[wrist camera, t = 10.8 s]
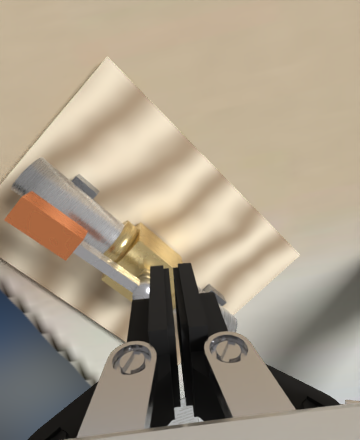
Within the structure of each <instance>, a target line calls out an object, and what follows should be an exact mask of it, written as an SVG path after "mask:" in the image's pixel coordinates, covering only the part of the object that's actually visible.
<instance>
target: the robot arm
mask: <svg viewBox="0 0 360 440" xmlns="http://www.w3.org/2000/svg"><path fill="white" fill-rule="evenodd" d="M173 276H174V290H175V304H176V317H177V330H178V339H179V348H180V356H181V365H182V374H183V383H184V391H185V400H186V406H193V413H194V417H199V418H200V419H202V420H203V421H202V422H194V423H186V424H179V425H171V426H168V425H169V424H170V422H171V421H172V420H175V411H174V408H175V407H181V402H180V389H179V375H178V362H177V349H176V336H175V325H174V315H173V305H172V295H171V285H170V275H169V268H164V267H163V265H159V266H150V287H149V298H146V299H136V300H132V305H131V313H130V321H129V328H128V336H127V343H124V344H122V345H120V346H118V347H117V348H115V349H114V350H113V351H112V352H111V354H110V355H109V357H108V359H107V361H106V364H105V366H104V369H103V371H102V374H101V376H100V379H99V381H98V382H97V383H96V384H94V385H93V386H92V387H91V388H89V389H88V390H87V391H86V392H84V393H83V394H82V395H81V396H79V397H78V398H77V399H76V400H74V401H73V402H72V403H71V404H69V405H68V406H67V407H66V408H64V409H63V410H62V411H61V412H59V413H58V414H57V415H55V416H54V417H53V418H52V419H51V420H49V421H48V422H47V423H46V424H44V425H43V426H42V427H40V429H38V430H37V431H36V432H35V433H34V434H33V435H32V436H31V437H30V438H29V439H28V440H360V401H353V400H345V404H339V403H338V402H337V401H336V400H335V399H333V398H332V397H330V396H329V395H327V394H325V393H323V392H321V391H319V390H317V389H315V388H313V387H311V386H309V385H307V384H305V383H303V382H301V381H299V380H297V379H295V378H293V377H291V376H289V375H287V374H285V373H283V372H281V371H279V370H277V369H275V368H273V367H271V366H269V365H267V364H265V363H264V361H263V360H262V358H261V357H260V355H259V354H258V352H257V351H256V350H255V348H254V347H253V345H252V344H251V342H250V341H249V340H248V339H247V338H246V337H244V336H242V335H241V334H238V333H235V332H228V329H227V326H226V324H225V321H224V318H223V315H222V313H221V310H220V307H219V304H218V302H217V299H216V296H215V294H214V292H207V293H199V291H198V287H197V283H196V280H195V276H194V272H193V269H192V265H191V263H181V264H178V267H175V268H173Z"/></svg>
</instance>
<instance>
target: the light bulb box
mask: <svg viewBox="0 0 360 440" xmlns="http://www.w3.org/2000/svg"><path fill="white" fill-rule="evenodd" d="M180 402H181V407H175V408H174V411H175V420H172V421H171V422H170V424H169V425H168V426H171V425H179V424H186V423H194V422H202V421H203V420H202V419H200V418H199V417H194V413H193V406H186V400H185V398H184V399H181V400H180Z"/></svg>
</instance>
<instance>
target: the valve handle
mask: <svg viewBox="0 0 360 440" xmlns="http://www.w3.org/2000/svg"><path fill="white" fill-rule="evenodd" d="M4 220H5V221H6V222H8V223H9V224H11V225H12V226H14V227H15V228H17V229H18V230H20V231H21V232H23V233H24V234H26V235H27V236H29V237H30V238H32V239H33V240H35V241H36V242H38V243H39V244H41V245H42V246H44V247H45V248H47V249H48V250H50V251H51V252H53V253H55V254H56V255H58V256H59V257H61V258H62V259H64V260H65V261H66V260H67V259H68V258H69V256H70V255H71V254H72V253H74V254H76V255H77V256H79V257H80V258H82V259H83V260H85V261H86V262H88V263H89V264H91V265H92V266H94V267H95V268H97V269H98V270H100V271H101V272H103V273H104V274H105V275H107V276H108V277H110V278H111V279H113V280H114V281H116V282H117V283H119V284H120V285H122V286H123V287H125V288H126V289H128V290H129V291H131V292H132V293H133V295H132V299H133V300H136V299H146V298H149V287H150V278H149V277H142V278H139V279H138V278H137V277H135V276H134V275H132V274H131V273H130V272H128V271H127V270H125V269H124V268H122V267H121V266H120V265H118V264H117V263H115V262H114V261H112V260H111V259H110V258H108V257H107V256H105V255H104V254H102V253H101V252H100V251H98V250H97V249H95V248H94V247H92V246H91V245H90V244H88V243H87V242H85V241H84V238H85V236H86V234H87V232H88V231H87V230H86V229H85V228H83V227H82V226H80V225H79V224H78V223H76V222H75V221H73V220H72V219H71V218H69V217H68V216H66V215H65V214H64V213H62V212H61V211H59V210H58V209H57V208H55V207H54V206H52V205H51V204H50V203H48V202H47V201H45V200H44V199H43V198H41V197H40V196H38V195H37V194H36V193H34V192H33V191H31V192H29V193H27V194H25V195H24V196H22V197H21V198H20V200H19V201H18V202H17V203H16V205H15V206H14V207H13V209H12V210H11V211H10V213H9V214H8V215H7V216H6V218H5V219H4Z"/></svg>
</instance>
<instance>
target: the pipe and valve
mask: <svg viewBox="0 0 360 440" xmlns="http://www.w3.org/2000/svg"><path fill="white" fill-rule="evenodd" d="M11 189H12V190H13V191H14V192H15V193H17V194H18V195H19V196H21V197H22V196H24V195H25V194H27V193H29V192H31V191H33V192H34V193H36V194H37V195H38V196H40V197H41V198H43V199H44V200H45V201H47V202H48V203H50V204H51V205H52V206H54V207H55V208H57V209H58V210H59V211H61V212H62V213H64V214H65V215H66V216H68V217H69V218H71V219H72V220H73V221H75V222H76V223H78V224H79V225H80V226H82V227H83V228H85V229H86V230H87V231H88V232H87V234H86V236H85V238H84V241H85V242H87V243H88V244H90V245H91V246H92V247H94V248H95V249H97V250H98V251H100V252H101V253H102V254H104V255H105V256H107V257H108V258H110V259H111V260H112V261H114V262H115V263H117V264H118V265H120V266H121V267H122V268H124V269H125V270H127V271H128V272H130V273H131V274H132V275H134V276H135V277H137V278H138V279H139V278H142V277H149V278H150V266H159V265H163V267H164V268H169V275H170V285H171V295H172V305H173V313H174V314H176V304H175V290H174V276H173V268H175V267H178V264H181V263H183V262H182V258H181V256H180V255H179V254H178V253H177V252H175V251H174V250H173V249H172V248H171V247H169V246H168V245H167V244H166V243H165V242H164V241H162V240H161V239H160V238H159V237H158V236H157V235H155V234H154V233H153V232H152V231H151V230H149V229H148V228H147V227H146V226H145V225H144V224H142V223H141V222H140V223H139V224H138V225H137V226H134V225H133V224H132V223H131V222H130V221H128V220H127V221H125V222H123V223H121V222H120V221H119V220H118V219H116V218H115V217H114V216H113V215H111V214H110V213H109V212H108V211H107V210H105V209H104V208H103V207H102V206H101V205H99V204H98V203H97V202H96V201H95V200H93V199H94V198H95V196H96V195H97V194H98V193H99V192H100V191H99V190H98V189H97V188H95V187H94V186H93V185H92V184H91V183H90V182H88V181H87V180H86V179H85V178H84V177H82V176H81V175H80V174H78V175H77V176H75V178H74V179H73V180H72V181H70V180H69V179H68V178H67V177H66V176H64V175H63V174H62V173H61V172H60V171H58V170H57V169H56V168H55V167H54V166H52V165H51V164H50V163H49V162H47V161H46V160H45V159H44V158H43V157H41V158H39V159H37V160H36V161H34V162H33V163H32V164H31V165H29V166H28V167H27V168H26V169H25V170H24V171H23V172H22V173H21V174H20V176H19V177H18V178H17V179H16V180H15V182H14V183H13V185H12V187H11ZM101 280H102V281H104V282H105V283H106V284H108V285H109V286H110V287H112V288H113V289H114V290H116V291H117V292H119V293H120V294H121V295H123V296H124V297H125V298H127V299H128V300H129V301H131V302H132V300H133V299H132V295H133V293H132V292H131V291H129V290H128V289H126V288H125V287H123V286H122V285H120V284H119V283H117V282H116V281H114V280H113V279H111V278H110V277H108V276H107V275H105V274H104V273H103V275H102V279H101ZM197 287H198V286H197ZM198 291H199V293H207V292H214V294H215V296H216V299H217V302H218V304H219V307H220V310H221V313H222V315H223V318H224V321H225V324H226V326H227V329H228V332H236V329H237V319H236V317H235V316H233V315H232V314H231V313H230V312H229V311H227V310H226V309H225V308H224V307H223V305H225V304H226V303H227V302H226V300H225V298H224V296H223V295H222V294H221V293H220V292H218V291H217V290H216V289H215V288H214V287H212V286H211V285H210V284H208V285H207V286H206V287H205V288H204V289H203V290H202V289H201V288H200V287H198Z"/></svg>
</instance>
